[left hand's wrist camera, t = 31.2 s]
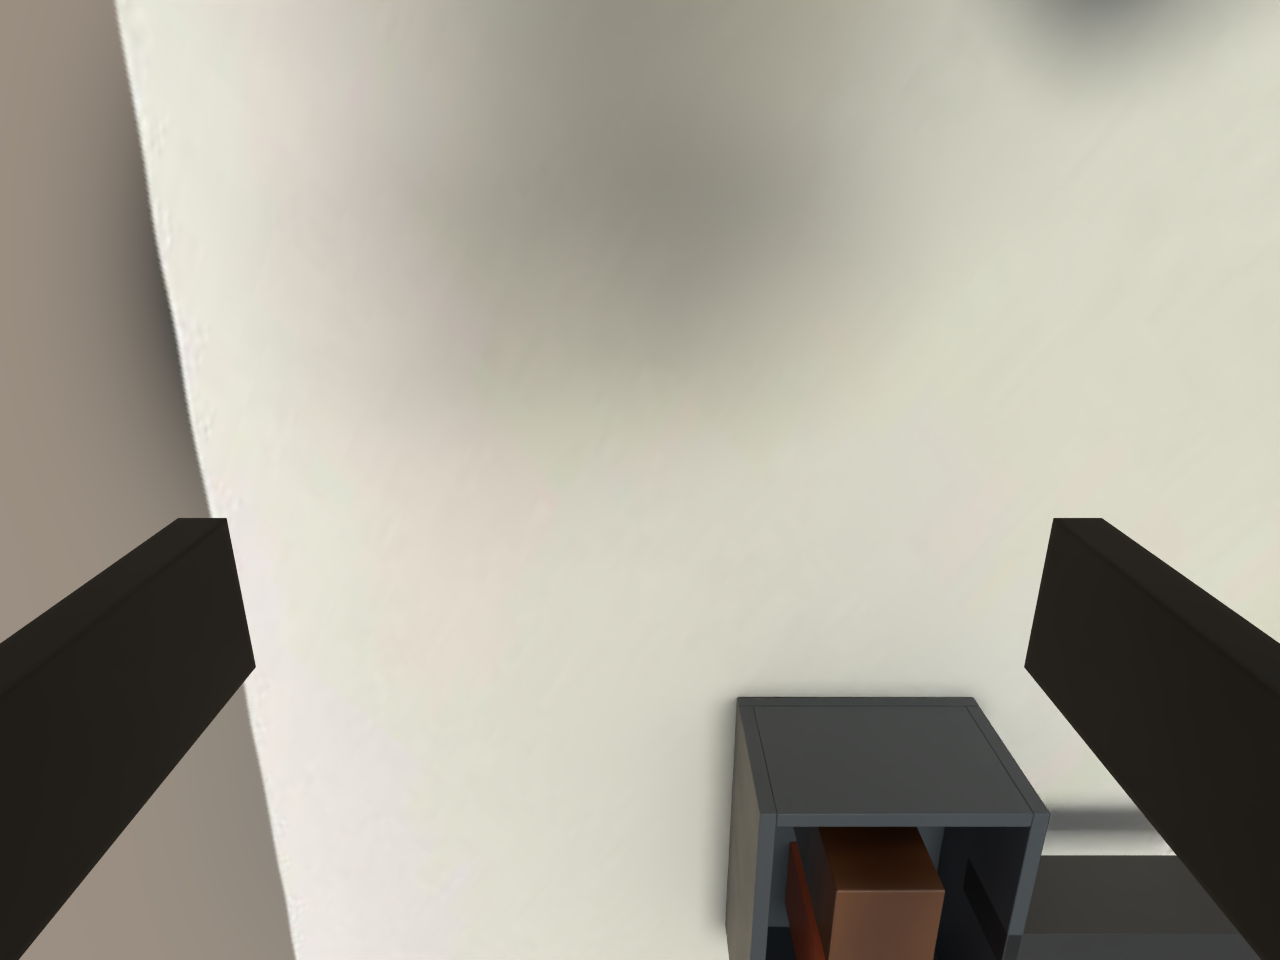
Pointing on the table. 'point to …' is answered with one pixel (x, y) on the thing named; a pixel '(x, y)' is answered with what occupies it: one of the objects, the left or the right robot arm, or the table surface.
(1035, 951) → the tote
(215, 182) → the table surface
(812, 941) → the terracotta block
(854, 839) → the walnut block
